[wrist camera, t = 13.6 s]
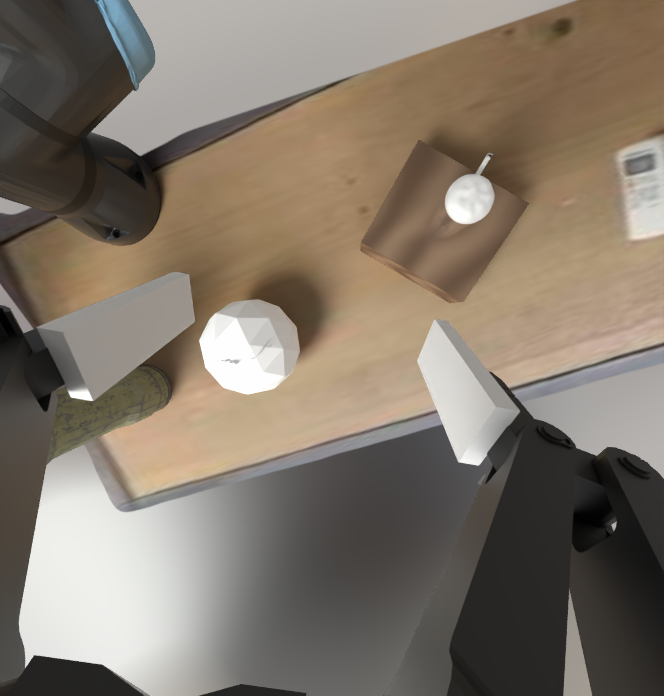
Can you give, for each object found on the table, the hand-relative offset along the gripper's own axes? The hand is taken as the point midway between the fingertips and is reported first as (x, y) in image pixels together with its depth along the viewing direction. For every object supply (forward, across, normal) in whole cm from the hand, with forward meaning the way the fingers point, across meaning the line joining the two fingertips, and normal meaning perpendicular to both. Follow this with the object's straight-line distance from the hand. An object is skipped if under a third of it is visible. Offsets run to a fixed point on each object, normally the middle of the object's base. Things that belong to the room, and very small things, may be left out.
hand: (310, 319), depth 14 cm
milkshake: (+25, +13, +5) cm, 29 cm away
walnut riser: (+29, +14, +3) cm, 33 cm away
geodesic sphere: (+24, -9, -17) cm, 30 cm away
